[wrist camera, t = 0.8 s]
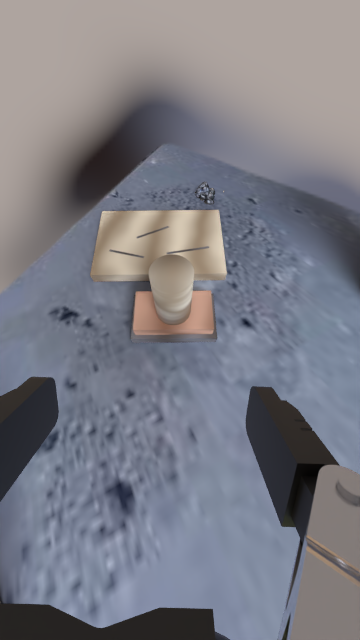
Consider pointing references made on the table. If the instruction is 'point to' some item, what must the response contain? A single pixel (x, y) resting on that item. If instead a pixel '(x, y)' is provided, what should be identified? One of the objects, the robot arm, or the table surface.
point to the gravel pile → (205, 193)
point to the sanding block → (173, 306)
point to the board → (157, 243)
